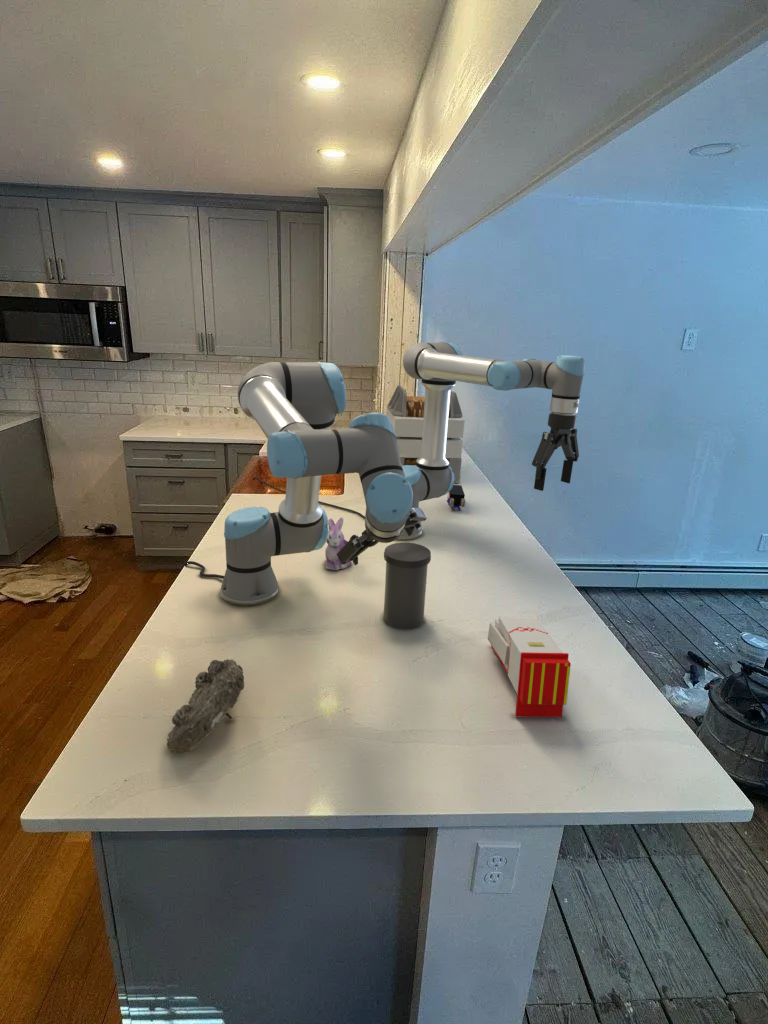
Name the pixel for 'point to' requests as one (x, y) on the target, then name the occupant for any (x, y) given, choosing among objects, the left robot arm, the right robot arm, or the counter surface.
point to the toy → (531, 665)
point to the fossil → (206, 705)
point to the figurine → (335, 545)
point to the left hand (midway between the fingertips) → (380, 544)
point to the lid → (407, 555)
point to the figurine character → (456, 497)
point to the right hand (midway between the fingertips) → (552, 485)
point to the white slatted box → (409, 428)
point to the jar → (404, 596)
